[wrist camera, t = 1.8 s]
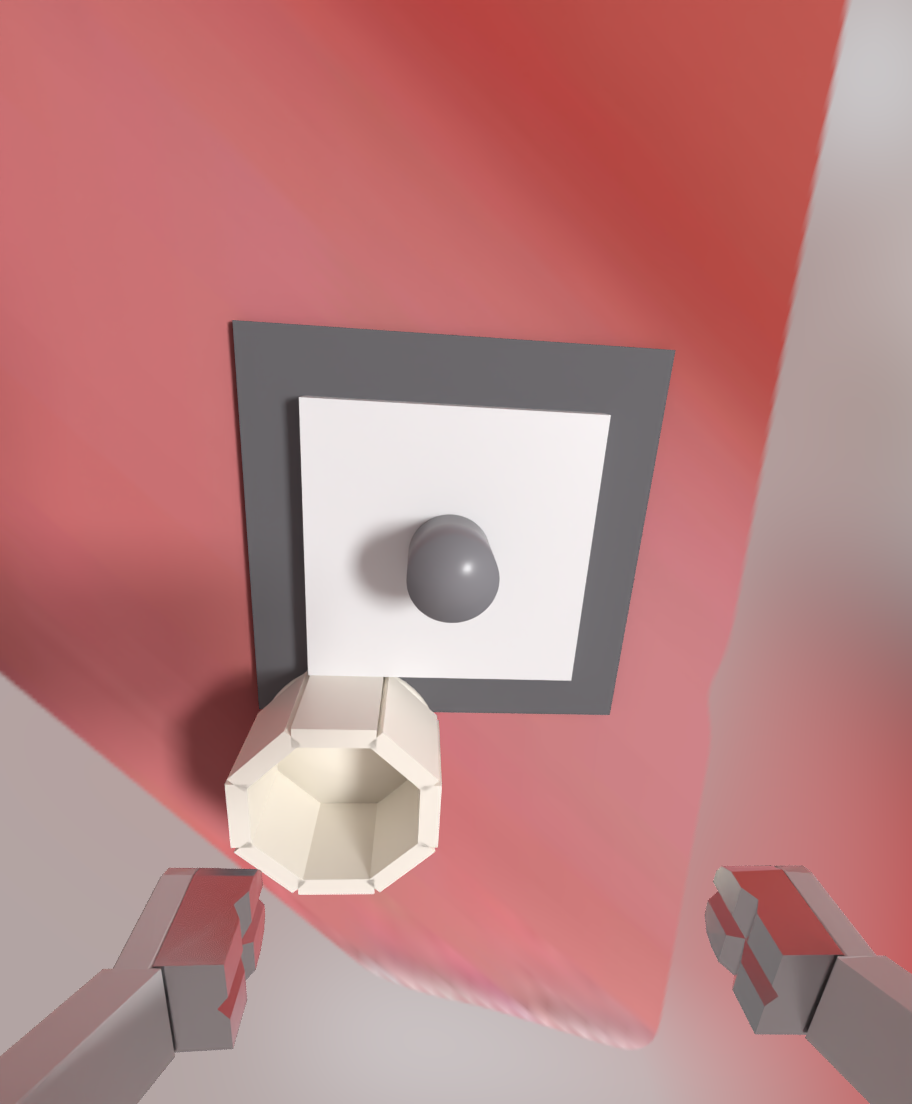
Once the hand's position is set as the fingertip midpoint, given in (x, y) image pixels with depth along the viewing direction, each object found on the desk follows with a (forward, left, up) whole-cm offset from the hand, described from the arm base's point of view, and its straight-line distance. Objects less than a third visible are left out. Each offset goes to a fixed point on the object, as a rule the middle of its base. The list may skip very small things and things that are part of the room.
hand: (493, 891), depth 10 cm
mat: (0, 0, -20) cm, 20 cm away
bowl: (+12, -5, -20) cm, 23 cm away
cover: (0, 0, -19) cm, 19 cm away
